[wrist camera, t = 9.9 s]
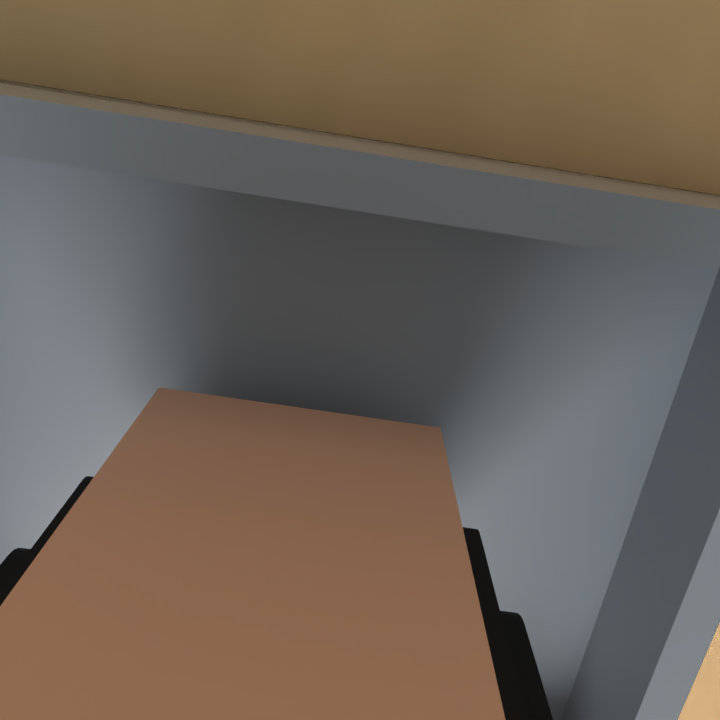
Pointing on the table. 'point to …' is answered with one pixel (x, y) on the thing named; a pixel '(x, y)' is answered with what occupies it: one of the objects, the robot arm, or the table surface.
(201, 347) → the tray
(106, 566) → the terracotta block
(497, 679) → the robot arm
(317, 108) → the table surface
